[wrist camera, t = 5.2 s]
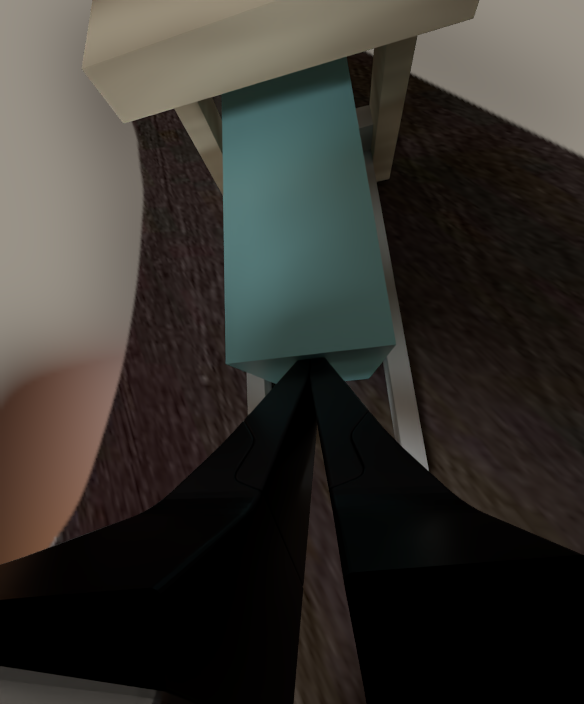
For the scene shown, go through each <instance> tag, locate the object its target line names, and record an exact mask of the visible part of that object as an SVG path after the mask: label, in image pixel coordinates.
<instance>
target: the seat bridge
mask: <svg viewBox="0 0 584 704" xmlns="http://www.w3.org/2000/svg"><path fill="white" fill-rule="evenodd" d="M478 3H479V0H93V1H92V7H91V13H90V20H89V26H88V32H87V38H86V45H85V52H84V57H83V64H82V70H83V71H84V73H85V74H86V75H87V77H88V78H89V79H90V80H91V82H92V83H93V84H94V86H95V87H96V88H97V90H98V91H99V92H100V94H101V95H102V96H103V97H104V99H105V100H106V101H107V103H108V104H109V105H110V107H111V108H112V109H113V111H114V112H115V113H116V114H117V116H118V117H119V118H120V120H121V121H122V122H123V123H127V122H130V121H134V120H137V119H140V118H144V117H147V116H150V115H154V114H157V113H160V112H164V111H167V110H170V109H175V111H176V112H177V114H178V116H179V118H180V120H181V121H182V123H183V125H184V127H185V128H186V130H187V132H188V134H189V136H190V137H191V139H192V141H193V143H194V144H195V146H196V148H197V150H198V152H199V153H200V155H201V157H202V159H203V161H204V162H205V164H206V166H207V168H208V169H209V171H210V173H211V175H212V177H213V178H214V180H215V182H216V184H217V185H218V187H219V189H220V191H221V193H222V194H223V147H222V120H221V118H220V115H219V113H218V111H217V108H216V106H215V103H214V101H213V99H212V97H214V96H217V95H220V94H224V93H227V92H230V91H234V90H237V89H240V88H243V87H247V86H250V85H253V84H257V83H260V82H263V81H267V80H270V79H273V78H277V77H280V76H283V75H287V74H290V73H293V72H297V71H300V70H303V69H307V68H310V67H313V66H317V65H320V64H323V63H327V62H330V61H333V60H337V59H340V58H343V57H347V56H350V55H353V54H357V53H360V52H363V51H367V50H370V49H373V48H374V57H373V69H372V81H371V93H370V105H367V106H363V107H359V108H356V115H357V120H358V126H359V132H360V138H361V143H362V149H363V155H364V161H365V167H366V172H367V178H368V184H369V190H370V196H371V201H372V207H373V213H374V219H375V224H376V230H377V236H378V242H379V248H380V253H381V259H382V265H383V271H384V277H385V282H386V288H387V294H388V300H389V305H390V311H391V317H392V323H393V329H394V334H395V340H396V346H395V347H394V348H393V349H392V351H391V352H390V353H389V354H388V356H387V357H386V358H385V359H384V361H383V365H384V371H385V378H386V384H387V390H388V397H389V403H390V409H391V416H392V422H393V429H394V435H395V440H396V441H397V442H398V443H399V444H400V445H401V446H402V447H403V448H404V449H405V450H406V451H407V452H409V453H410V454H411V455H412V456H413V457H414V458H415V459H416V460H417V461H418V462H419V463H420V464H422V465H423V466H424V467H425V468H426V469H427V470H428V471H429V469H428V464H427V458H426V453H425V447H424V442H423V436H422V430H421V425H420V419H419V414H418V408H417V403H416V397H415V392H414V386H413V381H412V375H411V370H410V364H409V359H408V353H407V348H406V342H405V337H404V331H403V326H402V320H401V315H400V309H399V304H398V298H397V293H396V287H395V282H394V276H393V270H392V265H391V259H390V254H389V248H388V243H387V237H386V232H385V226H384V221H383V215H382V210H381V204H380V199H379V193H378V188H377V182H378V181H382V180H387V179H389V178H390V173H391V167H392V162H393V157H394V152H395V147H396V142H397V137H398V132H399V127H400V122H401V117H402V111H403V106H404V101H405V96H406V91H407V86H408V81H409V76H410V71H411V65H412V60H413V55H414V50H415V45H416V40H417V35H420V34H423V33H427V32H430V31H433V30H437V29H440V28H443V27H446V26H450V25H453V24H456V23H460V22H463V21H466V20H470V19H473V18H474V15H475V11H476V9H477V6H478ZM271 389H272V384H271V382H270V381H267V380H265V379H262V378H260V377H257V376H255V375H252V374H250V373H247V399H248V415H249V414H250V413H251V412H252V411H253V410H254V408H255V407H256V406H257V405H258V404H259V403H260V402H261V401H262V399H263V398H264V397H265V396H266V395H267V394H268V393H269V392H270V390H271Z"/></svg>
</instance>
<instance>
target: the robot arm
mask: <svg viewBox="0 0 584 704" xmlns="http://www.w3.org/2000/svg"><path fill="white" fill-rule="evenodd" d="M317 425H318V431H319V436H320V442H321V448H322V453H323V459H324V465H325V470H326V476H327V481H328V487H329V492H330V498H331V504H332V510H333V516H334V522H335V528H336V535H337V541H338V547H339V554H340V560H341V567H342V573H343V579H344V585H345V591H346V596H347V601H348V606H349V612H350V617H351V622H352V627H353V633H354V638H355V643H356V648H357V654H358V659H359V664H360V669H361V675H362V680H363V686H364V691H365V697H366V703H367V704H584V555H582V554H580V553H577V552H575V551H573V550H570V549H568V548H565V547H563V546H561V545H558V544H556V543H554V542H551V541H549V540H547V539H544V538H542V537H540V536H537V535H535V534H533V533H530V532H528V531H525V530H523V529H521V528H518V527H516V526H514V525H511V524H509V523H507V522H504V521H502V520H500V519H497V518H495V517H493V516H490V515H488V514H486V513H483V512H481V511H479V510H477V509H475V508H474V507H472V506H470V505H469V504H467V503H466V502H464V501H463V500H461V499H460V498H459V497H457V496H456V495H455V494H453V493H452V492H451V491H450V490H449V489H448V488H447V487H445V486H444V485H443V484H442V483H441V482H440V481H439V480H438V479H437V478H436V477H435V476H433V475H432V474H431V473H430V472H429V471H428V470H427V469H426V468H425V467H424V466H423V465H422V464H420V463H419V462H418V461H417V460H416V459H415V458H414V457H413V456H412V455H411V454H410V453H409V452H407V451H406V450H405V449H404V448H403V447H402V446H401V445H400V444H399V443H398V442H397V441H396V440H395V439H394V438H393V437H392V436H391V435H390V434H389V433H388V432H387V431H386V430H385V429H384V428H383V426H382V425H381V424H380V423H379V422H378V421H377V420H376V418H375V417H374V416H373V415H372V414H371V413H370V412H369V410H368V409H367V408H366V407H365V405H364V404H363V403H362V402H361V400H360V399H359V398H358V397H357V396H356V394H355V393H354V392H353V391H352V390H351V388H350V387H349V386H348V385H347V384H346V382H345V381H344V380H343V379H342V377H341V376H340V375H339V374H338V373H337V371H336V370H335V369H334V368H333V367H332V365H331V364H330V363H329V362H328V361H327V359H326V358H315V359H311V360H310V359H306V360H297V361H296V362H295V363H294V365H293V366H292V367H291V368H290V369H289V370H288V371H287V372H286V374H285V375H284V376H283V377H282V378H281V379H280V380H279V381H278V383H277V384H276V385H275V386H274V387H273V388H272V389H271V390H270V392H269V393H268V394H267V395H266V396H265V397H264V398H263V399H262V401H261V402H260V403H259V404H258V405H257V406H256V407H255V408H254V410H253V411H252V412H251V413H250V414H249V415H248V416H247V417H246V419H245V420H244V422H242V423H241V424H240V425H239V426H238V427H237V428H236V430H235V431H234V432H233V433H232V434H231V435H230V436H229V437H228V438H227V439H226V440H225V441H224V442H223V443H222V444H221V445H220V446H219V447H218V448H217V449H216V450H215V451H214V452H213V453H212V454H211V455H210V456H209V457H208V458H207V459H206V460H205V461H204V462H203V463H202V464H201V465H199V466H198V467H197V468H196V469H195V470H194V471H193V472H192V473H191V474H190V475H189V476H188V477H187V478H186V479H184V480H183V481H182V482H181V483H180V484H179V485H178V486H177V487H176V488H175V489H174V490H173V491H172V492H171V493H169V494H168V495H167V496H166V497H165V498H164V499H163V500H161V501H160V502H158V503H157V504H156V505H154V506H153V507H151V508H150V509H148V510H146V511H144V512H142V513H140V514H138V515H136V516H133V517H131V518H128V519H126V520H123V521H120V522H117V523H115V524H112V525H109V526H107V527H104V528H101V529H98V530H96V531H93V532H90V533H88V534H85V535H82V536H79V537H77V538H74V539H71V540H69V541H66V542H63V543H61V544H58V545H55V546H52V547H50V548H47V549H44V550H42V551H39V552H36V553H34V554H31V555H28V556H25V557H22V558H20V559H17V560H13V561H11V562H8V563H4V564H1V565H0V704H293V703H294V691H295V679H296V667H297V655H298V644H299V632H300V620H301V609H302V597H303V584H304V572H305V561H306V549H307V537H308V525H309V513H310V502H311V490H312V478H313V466H314V455H315V443H316V431H317Z"/></svg>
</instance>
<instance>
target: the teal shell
mask: <svg viewBox="0 0 584 704" xmlns="http://www.w3.org/2000/svg"><path fill="white" fill-rule="evenodd" d="M222 147H223V212H224V277H225V342H226V364H227V365H230V366H232V367H235V368H237V369H240V370H242V371H245V372H247V373H250V374H252V375H255V376H257V377H260V378H262V379H265V380H267V381H270V382H273V383H275V384H277V383H278V381H279V380H280V379H281V378H282V377H283V376H284V375H285V374H286V372H287V371H288V370H289V369H290V368H291V367H292V366H293V365H294V363H295V362H296V361H297V360H306V359H310V360H311V359H315V358H326V359H327V361H328V362H329V363H330V364H331V365H332V367H333V368H334V369H335V370H336V371H337V373H338V374H339V375H340V376H341V377H342V379H343V380H344V381H350V380H360V379H369V378H370V377H371V376H372V374H373V373H374V372H375V371H376V369H377V368H378V367H379V366H380V364H381V363H382V362H383V361H384V359H385V358H386V357H387V356H388V354H389V353H390V352H391V351H392V349H393V348H394V347H395V346H396V340H395V334H394V329H393V323H392V317H391V311H390V305H389V300H388V294H387V288H386V282H385V277H384V271H383V265H382V259H381V253H380V248H379V242H378V236H377V230H376V224H375V219H374V213H373V207H372V201H371V196H370V190H369V184H368V178H367V172H366V167H365V161H364V155H363V149H362V143H361V138H360V132H359V126H358V120H357V115H356V109H355V103H354V97H353V91H352V86H351V80H350V74H349V68H348V62H347V57H343V58H340V59H337V60H333V61H330V62H327V63H323V64H320V65H317V66H313V67H310V68H307V69H303V70H300V71H297V72H293V73H290V74H287V75H283V76H280V77H277V78H273V79H270V80H267V81H263V82H260V83H257V84H253V85H250V86H247V87H243V88H240V89H237V90H234V91H230V92H227V93H224V94H222Z"/></svg>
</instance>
